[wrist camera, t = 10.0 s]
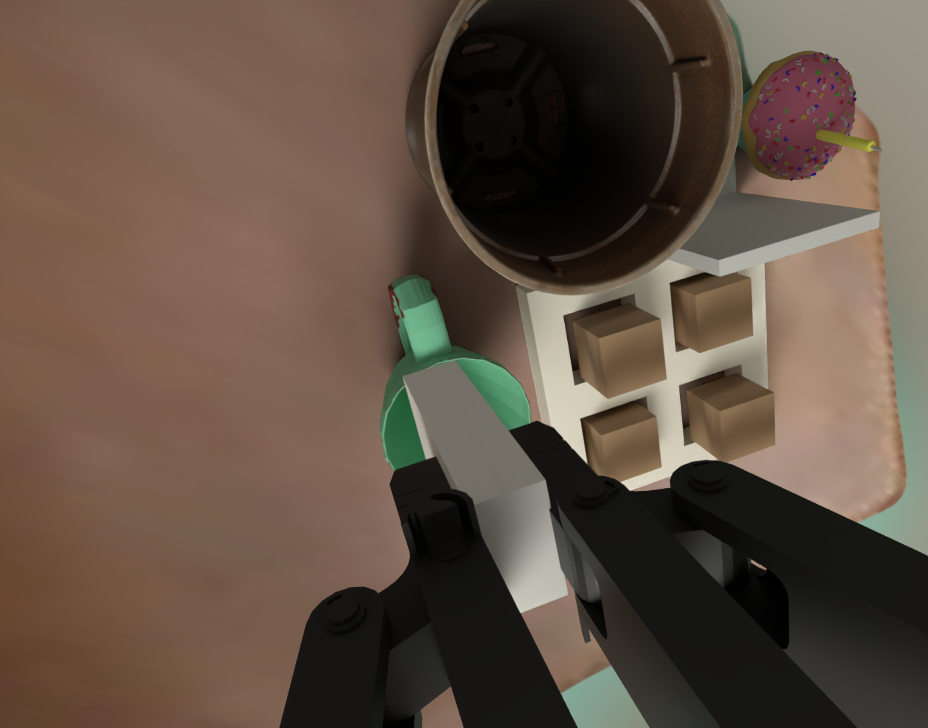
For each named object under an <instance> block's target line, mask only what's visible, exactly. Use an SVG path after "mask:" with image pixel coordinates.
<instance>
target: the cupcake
mask: <svg viewBox="0 0 928 728" xmlns="http://www.w3.org/2000/svg"><path fill="white" fill-rule="evenodd" d="M835 59H836V58H832V57H830V56H829V55H828V54H825V55H824V54H823V53H819V52H815V51H803V52H799V53H796V54H793V55H790V56H788V57H786V58H784V59H781V60H779V61H776V62H773V63H771V64H770V65H769V66H768V67H767V68H766V69H765V70H764V71H763V72H762V73H761V74H760V76H759V77H758V79H757V80H756V82H755V83H754V85H753V87H752V89H750V90H748V91H747V92H746V93H744V94H743V107H742V118H741V126H740V132H739V138H738V143H737V145H738V146H739V147H740V148H741V149H743V150H744V151H746V152H747V155H748V157H749V159H750V161H751V163H752V165H753V166H754V167H755V168H756V169H757V170H758V171H759V172H761V173H763V174H765V175H768V176H769V177H772V178H775V179H784V180H790V181H792V180H800V179H805V178H806V179H810V178H811V177H810V176H814V175H816V172H819V171H822V170H823V167H824V166H825V165H826V164H827V163H828V162H831V161H832V158H833V157H834V156H835V155H836V153H839V152H840V151H841V147H842V146H847V147H851V148H855V149H859V150H864V151H868V152H870V151H872V150H875V151H878V152H880V153H881V152H882V149H881V148H878V147H875V146H876V143H875V142H874V141H871V140H867V139H862V138H857V137H853V136H849V135H850V132H851V130H852V128H853V126H852V124H853V122H854V121H855V119H854V113H855V101H856V98H854V95H856V92H855V90H854V89H853V84H852V80H851V78H852V77H851V75H850V74H849V72H848V71H846V70H845V69H844V68H843V66H842V65H841V64H840V63H839V62H838V59H836V60H835ZM839 149H840V151H839ZM814 173H815V174H814ZM813 174H814V175H813Z"/></svg>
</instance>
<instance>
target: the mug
mask: <svg viewBox="0 0 928 728" xmlns="http://www.w3.org/2000/svg"><path fill="white" fill-rule="evenodd" d="M388 290H389V295H390V299H391V304H392V309H393V314H394V317H395V320H396V324H397V327H398V330H399V334H400V337H401V341H402V344H403V347H404V351H405V354H406V355H405V356H404V357H403V358H402V359H401V360H400V361H399V362H398V363H397V365H396V367H395V369H394V371H393V372H392V374H391V376H390V379H389V381H388V383H387V385H386V390H385V396H384V401H383V407H382V412H381V422H380V435H381V440H382V446H383V451H384V455H385V458H386V460H387V461H388V463H389V465H390V466H391V468H392V470H393V471H395V470H396V469H399V468H402V467H405V466H408V465H411V464H414V463H417V462H420V461H423V460H426V458H425V454H424V451H423V447H422V444H421V440H420V437H419V433H418V430H417V426H416V422H415V419H414V415H413V412H412V408H411V405H410V401H409V398H408V394H407V391H406V387H405V383H404V380H403V376H405V375H408V374H412V373H415V372H418V371H421V370H425V369H428V368H431V367H434V366H438V365H441V364H444V363H447V362H450V361H454V360H455V361H456V362H457V363H458V365H459V366H460V367H461V369H462V370H463V371H464V373H465V374H466V375H467V377H468V378H469V379H470V381H471V382H472V383H473V385H474V386H475V387H476V388H477V390H478V391H479V392H480V394H481V395H482V396H483V398H484V399H485V400H486V402H487V403H488V404H489V406H490V407H491V408H492V410H493V411H494V412H495V414H496V415H497V416H498V418H499V419H500V420H501V422H502V423H503V424H504V426H505V427H506V428H507V429H508V430H511V429H514V428H517V427H520V426H523V425H526V424H529V423H531V414H530V403H529V400H528V398H527V396H526V394H525V392H524V389H523V387H522V385H521V383H520V382H519V381H518V380H517V379H516V378H515V377H514V376H513V375H512V374H511V373H510V372H509V371H508V370H507V369H506V368H505V367H504V366H503V365H502V364H500V363H498V362H496V361H494V360H492V359H489V358H487V357H485V356H483V355H481V354H478V353H475V352H472V351H469V350H467V349H464V348H462V347H459V346H451V344H450V340H449V337H448V333H447V329H446V326H445V322H444V318H443V315H442V312H441V309H440V305H439V302H438V299H437V296H436V293H435V291H434V289H433V286H432V284H431V282H430V281H429V280H428V279H426V278H424V277H423V276H421V275H406V276H403V277H400V278H398V279H396V280H395V281H394V282H392V283H391V284H390V285H389V286H388Z"/></svg>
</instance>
